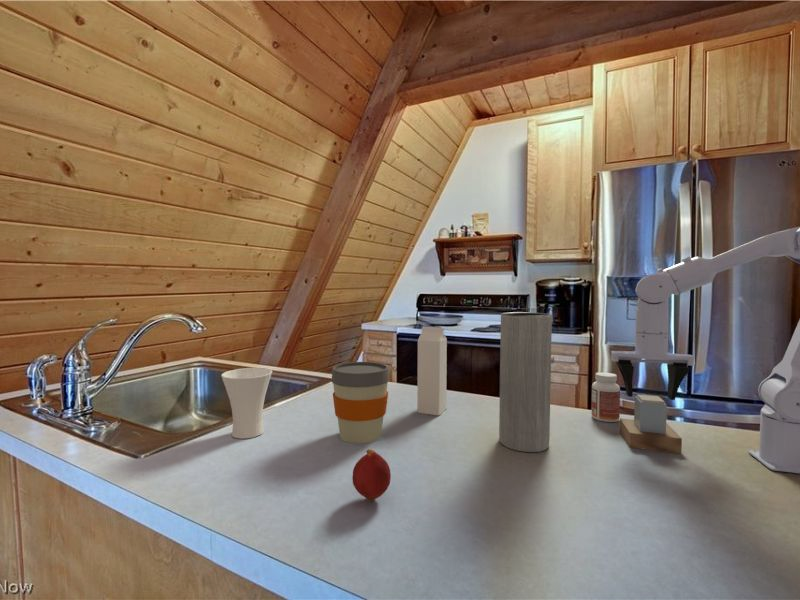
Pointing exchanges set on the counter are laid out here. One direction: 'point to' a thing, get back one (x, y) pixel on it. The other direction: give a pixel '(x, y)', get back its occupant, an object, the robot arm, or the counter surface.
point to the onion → (371, 475)
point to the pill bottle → (605, 397)
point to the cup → (247, 399)
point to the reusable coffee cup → (360, 399)
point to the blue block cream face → (650, 414)
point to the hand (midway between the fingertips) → (649, 397)
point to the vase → (525, 381)
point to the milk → (432, 371)
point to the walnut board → (650, 438)
